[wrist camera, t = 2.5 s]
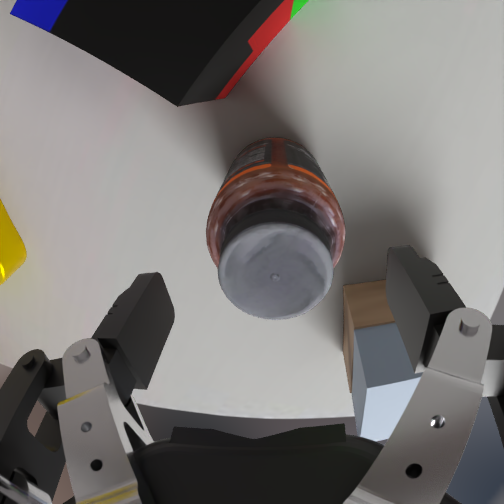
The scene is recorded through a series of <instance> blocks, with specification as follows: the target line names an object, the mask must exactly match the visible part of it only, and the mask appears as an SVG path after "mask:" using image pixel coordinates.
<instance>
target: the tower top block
mask: <svg viewBox="0 0 504 504" xmlns="http://www.w3.org/2000/svg"><path fill="white" fill-rule="evenodd" d="M422 374H423V372H420V373H416V374H415V373H414V370H413V368H412V365H411V362H410V359H409V356H408V354H407V351H406V348H405V345H404V343H403V340H402V338H401V335H400V332H399V330H398V327H397V325H396V322H395V323H390V324H384V325H379V326H373V327H367V328H361V329H355V330H354V352H353V379H352V400H353V406H354V413H355V420H356V427H357V433H358V436H359V437H364V438H367V439H370V440H373V441H379V440H384V439H389V437H390V435H391V434H392V432H393V430H394V429H395V427H396V425H397V423H398V421H399V420H400V418H401V416H402V414H403V412H404V410H405V409H406V407H407V405H408V403H409V401H410V399H411V397H412V395H413V393H414V391H415V389H416V387H417V385H418V383H419V380H420V378H421V376H422Z"/></svg>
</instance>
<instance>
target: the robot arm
mask: <svg viewBox="0 0 504 504" xmlns="http://www.w3.org/2000/svg"><path fill="white" fill-rule="evenodd" d="M386 298H387V302H388V305H389V307H390V310H391V312H392V315H393V317H394V320H395V322H396V325H397V327H398V330H399V332H400V335H401V338H402V340H403V343H404V345H405V348H406V351H407V354H408V356H409V359H410V362H411V365H412V368H413V370H414V373H415V374H416V373H420V372H423V374H422V376H421V378H420V380H419V383H418V385H417V387H416V389H415V391H414V393H413V395H412V397H411V399H410V401H409V403H408V405H407V407H406V409H405V410H404V412H403V414H402V416H401V418H400V420H399V421H398V423H397V425H396V427H395V429H394V430H393V432H392V434H391V435H390V437H389V439H388V441H387V442H386V444H385V445H382V444H380V443H377V442H375V441H373V440H370V439H367V438H364V437H359V436H354V435H346V434H345V425H344V424H335V425H326V426H316V427H305V428H298V429H294V430H291V431H287V432H284V433H280V434H276V435H272V436H268V437H263V438H259V439H249V438H245V437H241V436H237V435H233V434H228V433H225V432H221V431H217V430H214V429H199V428H185V427H174V428H173V432H172V435H171V438H167V439H162V440H159V441H156V442H154V441H153V440H152V438H151V436H150V434H149V432H148V429H147V427H146V425H145V423H144V420H143V418H142V416H141V413H140V411H139V409H138V406H137V404H136V401H135V399H134V397H133V396H132V391H133V389H145V390H147V388H148V385H149V383H150V380H151V377H152V375H153V372H154V370H155V367H156V365H157V362H158V360H159V357H160V355H161V352H162V350H163V347H164V345H165V342H166V340H167V338H168V335H169V333H170V330H171V328H172V325H173V323H174V318H175V313H174V307H173V304H172V302H171V299H170V296H169V294H168V291H167V288H166V285H165V283H164V280H163V277H162V275H161V274H160V273H158V272H155V273H145V274H139V275H138V276H137V277H136V279H135V280H134V282H133V283H132V285H131V286H130V288H128V289H127V290H126V291H124V292H123V293H122V294H121V295H120V296H118V298H117V299H116V301H115V302H114V304H113V305H112V306H113V307H111V308H110V310H109V311H108V315H106V316H105V317H104V319H103V320H102V322H101V324H100V325H99V327H98V328H97V330H96V331H95V333H94V334H93V336H92V338H87V339H82V340H79V341H77V342H75V343H74V344H72V345H71V346H70V347H69V348H68V349H67V350H66V351H65V353H64V355H63V358H59V359H54V360H49V359H48V358H47V356H46V355H45V353H44V352H43V351H42V350H39V349H35V350H31V351H29V352H27V353H26V354H24V355H23V356H22V357H21V358H20V359H19V360H18V362H17V363H16V365H15V366H14V368H13V370H12V371H11V373H10V374H9V376H8V377H7V379H6V381H5V382H4V384H3V386H2V387H1V389H0V504H52V501H53V497H54V494H55V491H56V488H57V485H58V482H59V479H60V477H61V474H62V471H63V468H64V465H65V462H66V463H67V468H68V472H69V477H70V480H71V485H72V488H73V492H74V496H73V497H72V498H71V499H69V500H68V501H66V502H65V503H63V504H461V503H460V502H458V501H457V500H456V499H454V498H453V497H452V496H450V495H449V494H448V493H446V490H447V488H448V486H449V484H450V482H451V479H452V477H453V475H454V473H455V471H456V468H457V466H458V464H459V461H460V459H461V457H462V454H463V452H464V449H465V446H466V443H467V441H468V438H469V436H470V433H471V430H472V427H473V424H474V421H475V418H476V415H477V412H478V408H479V405H480V402H481V398H482V396H484V397H487V398H488V400H489V403H490V406H491V409H492V412H493V415H494V418H495V421H496V424H497V427H498V430H499V434H500V437H501V440H502V444H503V447H504V325H492V324H491V322H490V320H489V318H488V317H487V316H486V315H485V314H484V313H482V312H480V311H478V310H476V309H472V308H466V306H465V305H464V303H463V302H462V300H461V299H460V297H459V296H458V294H457V293H456V292H455V290H454V289H453V287H452V286H451V284H450V283H448V280H447V279H446V277H445V276H443V273H442V272H441V270H440V269H439V268H438V266H437V265H436V264H434V263H433V262H431V261H430V260H428V259H427V258H419V256H418V255H417V253H416V252H415V251H414V249H413V248H412V247H411V246H410V245H406V246H398V247H390V248H389V249H388V255H387V274H386ZM37 400H38V401H39V403H40V404H41V405H42V406H43V407H44V408H45V409H46V410H47V412H46V414H45V416H44V418H43V420H42V422H41V425H40V427H39V429H38V431H37V433H36V435H35V437H34V436H33V435H32V434H31V433H30V432H29V430H28V428H27V419H28V417H29V415H30V413H31V411H32V409H33V407H34V405H35V403H36V401H37Z"/></svg>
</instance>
